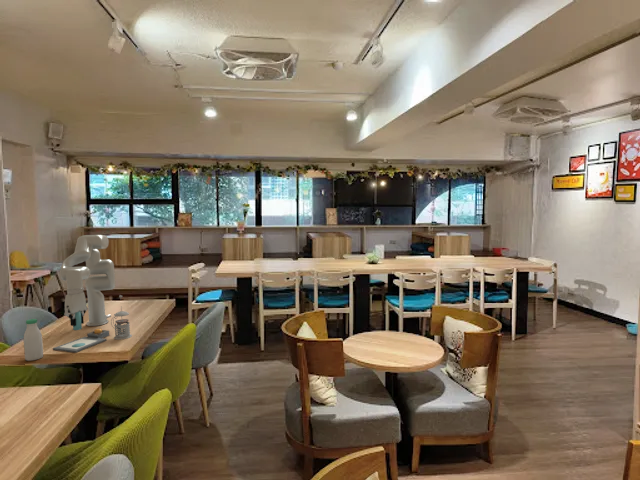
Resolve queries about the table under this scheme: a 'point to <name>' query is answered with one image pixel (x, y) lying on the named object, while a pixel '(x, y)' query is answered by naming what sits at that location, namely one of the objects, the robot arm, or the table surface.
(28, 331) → the milk bottle
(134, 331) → the table surface
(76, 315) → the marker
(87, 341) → the drawing board
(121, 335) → the french press
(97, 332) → the button
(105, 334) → the button housing
